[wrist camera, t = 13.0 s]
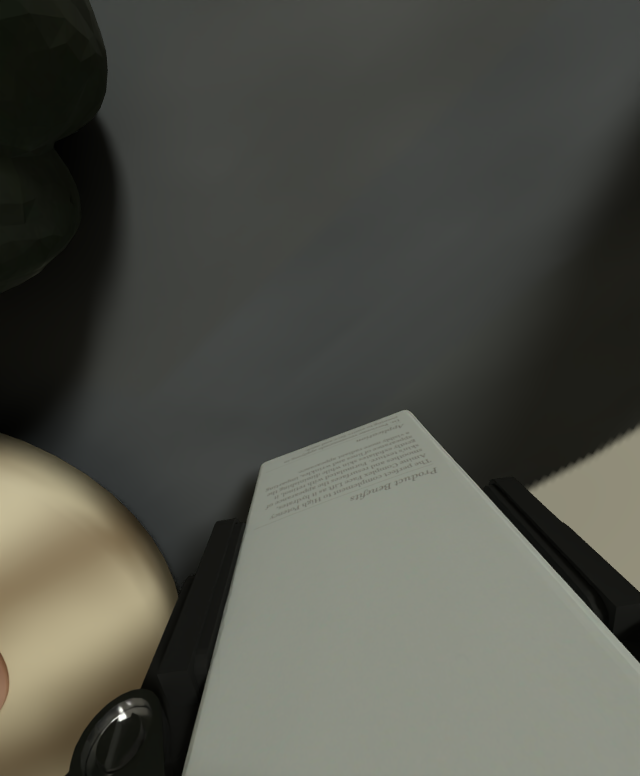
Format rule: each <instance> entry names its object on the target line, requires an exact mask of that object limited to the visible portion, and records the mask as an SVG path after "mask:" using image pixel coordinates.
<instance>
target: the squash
mask: <svg viewBox="0 0 640 776" xmlns="http://www.w3.org/2000/svg"><path fill="white" fill-rule="evenodd" d="M107 71H108V69H107V57H106V50H105V46H104V43H103V39H102V36H101V32H100V29H99V27H98V24H97V21H96V18H95V15H94V12H93V10H92V7H91V4H90V2H89V0H0V293H2V292H4V291H7V290H9V289H11V288H13V287H16V286H18V285H20V284H22V283H23V282H25V281H26V280H28V279H30V278H31V277H33V276H35V275H36V274H38V273H40V272H41V271H42V270H43V268H44V267H45V266H46V265H47V264H48V263H49V262H50V261H51V260H52V259H54V258H55V257H56V256H57V255H58V254H59V253H60V252H61V251H63V250H64V249H65V248H66V246H67V245H68V244H69V242H70V241H71V240H72V238H73V237H74V235H75V233H76V232H77V230H78V227H79V224H80V220H81V206H80V195H79V192H78V189H77V186H76V183H75V181H74V179H73V177H72V175H71V173H70V171H69V169H68V168H67V166H66V165H65V163H64V162H63V160H62V159H61V158H60V156H59V155H58V153H57V152H56V151H55V149H54V144H55V142H56V141H58V140H60V139H63V138H65V137H67V136H69V135H71V134H73V133H75V132H77V131H78V130H79V129H81V128H82V127H83V126H85V125H86V124H87V123H88V122H90V121H91V120H92V119H93V117H94V116H95V115H96V113H97V112H98V111H99V109H100V107H101V104H102V102H103V99H104V96H105V93H106V85H107Z"/></svg>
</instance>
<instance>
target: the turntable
mask: <svg viewBox="0 0 640 776" xmlns="http://www.w3.org/2000/svg"><path fill="white" fill-rule="evenodd" d="M177 599H178V594H177V590H176V586H175V582H174V580H173V577H172V575H171V573H170V570H169V568H168V566H167V563H166V561H165V559H164V557H163V556H162V554H161V552H160V551H159V549H158V547H157V546H156V544H155V542H154V541H153V539H152V537H151V536H150V535H149V534H148V532H147V531H146V530H145V529H144V527H143V526H142V525H141V524H140V523H139V521H138V520H137V519H136V518H135V516H134V515H133V514H132V513H131V512H130V511H129V510H128V509H127V508H126V507H125V506H124V505H123V504H122V503H121V502H119V501H118V500H117V499H116V498H115V497H114V496H113V495H112V494H111V493H110V492H108V491H107V490H106V489H105V488H103V487H102V486H101V485H99V484H98V483H97V482H95V481H94V480H93V479H91V478H90V477H89V476H88V475H86V474H85V473H83V472H81V471H80V470H78V469H76V468H75V467H73V466H72V465H70V464H68V463H67V462H65V461H63V460H62V459H60V458H58V457H57V456H55V455H52V454H50V453H48V452H46V451H44V450H42V449H40V448H38V447H35V446H33V445H31V444H29V443H27V442H25V441H22V440H19V439H16V438H14V437H11V436H8V435H5V434H2V433H0V776H65V775H66V774H67V773H68V772H69V767H70V762H71V759H72V755H73V752H74V748H75V746H76V744H77V742H78V740H79V739H80V737H81V735H82V733H83V731H84V730H85V728H86V727H87V726H88V724H89V723H90V722H91V720H92V719H93V718H94V716H95V715H97V714H98V713H99V712H100V711H101V710H102V709H103V708H104V707H105V706H106V705H107V704H108V703H110V702H111V701H112V700H114V699H115V698H117V697H118V696H120V695H122V694H124V693H126V692H129V691H131V690H135V689H140V688H141V686H142V683H143V681H144V679H145V676H146V674H147V671H148V669H149V667H150V664H151V662H152V659H153V657H154V654H155V652H156V650H157V647H158V645H159V642H160V640H161V638H162V635H163V633H164V630H165V628H166V626H167V623H168V621H169V618H170V616H171V614H172V611H173V609H174V606H175V604H176V601H177Z"/></svg>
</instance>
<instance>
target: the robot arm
mask: <svg viewBox="0 0 640 776" xmlns="http://www.w3.org/2000/svg"><path fill="white" fill-rule="evenodd" d="M484 493H485V494H486V495H487V496H488V497H489V499H490V500H491V501H492V502H493V503H494V504H495V505H496V506H497V507H498V509H499V510H500V511H501V512H502V513H503V514H504V515H505V516H506V517H507V518H508V519H509V521H510V522H511V523H512V524H513V525H514V526H515V527H516V528H517V529H518V530H519V532H520V533H521V534H522V535H523V536H524V537H525V538H526V539H527V540H528V541H529V543H530V544H531V545H532V546H533V547H534V548H535V549H536V550H537V551H538V552H539V553H540V555H541V556H542V557H543V558H544V559H545V560H546V561H547V562H548V563H549V564H550V566H551V567H552V568H553V569H554V570H555V571H556V572H557V573H558V574H559V575H560V576H561V578H562V579H563V580H564V581H565V582H566V583H567V584H568V585H569V586H570V587H571V588H572V590H573V591H574V592H575V593H576V594H577V595H578V596H579V597H580V598H581V599H582V601H583V602H584V603H585V604H586V605H587V606H588V607H589V608H590V609H591V610H592V612H593V613H594V614H595V615H596V616H597V617H598V618H599V619H600V620H601V621H602V623H603V624H604V625H605V626H606V627H607V628H608V629H609V630H610V631H611V632H612V634H613V635H614V636H615V637H616V638H617V639H618V640H619V641H620V642H621V643H622V645H623V646H624V647H625V648H626V649H627V650H628V651H629V652H630V653H631V654H632V656H633V657H634V658H635V659H636V660H637V661H638V662H639V663H640V592H639V591H638V590H637V589H636V588H635V587H633V586H632V585H631V584H630V583H629V582H628V581H627V580H626V579H625V578H624V577H623V576H622V575H621V574H619V573H618V572H617V571H616V570H615V569H614V568H613V567H612V566H611V565H610V564H609V563H608V562H607V561H605V560H604V559H603V558H602V557H601V556H600V555H599V554H598V553H597V552H596V551H595V550H594V549H592V548H591V547H590V546H589V545H588V544H587V543H586V542H585V541H584V540H583V539H582V538H581V537H580V536H578V535H577V534H576V533H575V532H574V531H573V530H572V529H571V528H570V527H569V526H567V525H566V524H565V523H563V522H561V521H560V520H559V519H558V518H557V517H556V516H555V515H554V514H552V512H550V511H549V510H548V509H547V508H546V507H545V506H544V505H543V504H542V503H541V502H540V501H539V500H537V498H535V497H534V496H533V495H532V494H531V493H530V492H529V491H528V490H527V489H526V488H525V487H524V486H523V485H522V484H520V483H519V482H518V481H517V480H516V479H515V478H513V477H505V478H499V479H492V480H490V482H489V485H488V486H485V487H484ZM245 526H246V524H245V523H239V520H238V519H236V518H235V519H229V520H222V521H217V522H216V524H215V526H214V529H213V531H212V534H211V536H210V539H209V541H208V544H207V547H206V549H205V552H204V554H203V557H202V559H201V562H200V565H199V567H198V570H197V572H196V575H193V576H189V577H188V578H187V579H186V581H185V583H184V585H183V587H182V589H181V592H180V594H179V597H178V599H177V601H176V604H175V606H174V609H173V611H172V614H171V616H170V618H169V621H168V623H167V626H166V628H165V630H164V633H163V635H162V638H161V640H160V642H159V645H158V647H157V650H156V652H155V654H154V657H153V659H152V662H151V664H150V667H149V669H148V671H147V674H146V676H145V679H144V681H143V683H142V686H141V688H140V689H135V690H131V691H129V692H126V693H124V694H122V695H120V696H118V697H117V698H115V699H114V700H112V701H111V702H110V703H108V704H107V705H106V706H105V707H104V708H103V709H102V710H101V711H100V712H99V713H98V714H97V715H95V716H94V718H93V719H92V720H91V722H90V723H89V724H88V726H87V727H86V728H85V730H84V731H83V733H82V735H81V737H80V739H79V740H78V742H77V744H76V746H75V748H74V752H73V755H72V759H71V762H70V767H69V772H68V773H67V774H66V775H65V776H182V773H183V769H184V765H185V761H186V756H187V752H188V748H189V744H190V740H191V736H192V732H193V728H194V725H195V721H196V717H197V713H198V710H199V706H200V702H201V698H202V695H203V691H204V687H205V683H206V679H207V675H208V671H209V667H210V663H211V659H212V655H213V652H214V648H215V644H216V640H217V636H218V632H219V628H220V624H221V620H222V616H223V612H224V608H225V604H226V600H227V597H228V593H229V589H230V585H231V581H232V577H233V573H234V569H235V565H236V561H237V557H238V554H239V550H240V546H241V542H242V539H243V534H244V530H245Z"/></svg>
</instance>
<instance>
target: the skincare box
mask: <svg viewBox="0 0 640 776" xmlns="http://www.w3.org/2000/svg"><path fill="white" fill-rule="evenodd" d="M182 776H640V663H639V662H638V661H637V660H636V659H635V658H634V657H633V656H632V654H631V653H630V652H629V651H628V650H627V649H626V648H625V647H624V646H623V645H622V643H621V642H620V641H619V640H618V639H617V638H616V637H615V636H614V635H613V634H612V632H611V631H610V630H609V629H608V628H607V627H606V626H605V625H604V624H603V623H602V621H601V620H600V619H599V618H598V617H597V616H596V615H595V614H594V613H593V612H592V610H591V609H590V608H589V607H588V606H587V605H586V604H585V603H584V602H583V601H582V599H581V598H580V597H579V596H578V595H577V594H576V593H575V592H574V591H573V590H572V588H571V587H570V586H569V585H568V584H567V583H566V582H565V581H564V580H563V579H562V578H561V576H560V575H559V574H558V573H557V572H556V571H555V570H554V569H553V568H552V567H551V566H550V564H549V563H548V562H547V561H546V560H545V559H544V558H543V557H542V556H541V555H540V553H539V552H538V551H537V550H536V549H535V548H534V547H533V546H532V545H531V544H530V543H529V541H528V540H527V539H526V538H525V537H524V536H523V535H522V534H521V533H520V532H519V530H518V529H517V528H516V527H515V526H514V525H513V524H512V523H511V522H510V521H509V519H508V518H507V517H506V516H505V515H504V514H503V513H502V512H501V511H500V510H499V509H498V507H497V506H496V505H495V504H494V503H493V502H492V501H491V500H490V499H489V497H488V496H487V495H486V494H485V493H484V492H483V491H482V490H481V489H480V488H479V486H478V485H477V484H476V483H475V482H474V481H473V480H472V479H471V478H470V476H469V475H468V474H467V473H466V472H465V471H464V470H463V469H462V468H461V467H460V466H459V465H458V464H457V463H456V462H455V461H454V459H453V458H452V457H451V456H450V455H449V454H448V453H447V452H446V451H445V450H444V449H443V447H442V446H441V445H440V444H439V443H438V442H437V441H436V440H435V439H434V438H433V437H432V435H431V434H430V433H429V432H428V431H427V430H426V429H425V428H424V426H423V425H422V424H421V423H420V422H419V421H418V420H417V418H416V417H415V416H414V415H413V414H412V413H411V412H410V411H408V410H403V411H400V412H397V413H395V414H392V415H389V416H387V417H384V418H382V419H379V420H376V421H374V422H371V423H368V424H366V425H363V426H360V427H358V428H355V429H352V430H350V431H347V432H344V433H342V434H339V435H336V436H333V437H331V438H328V439H325V440H323V441H320V442H318V443H315V444H312V445H310V446H307V447H304V448H302V449H299V450H296V451H294V452H291V453H288V454H286V455H283V456H280V457H278V458H275V459H272V460H270V461H267V462H265V463H263V464H262V465H261V467H260V471H259V475H258V479H257V483H256V487H255V491H254V495H253V498H252V502H251V506H250V510H249V514H248V518H247V522H246V526H245V530H244V534H243V539H242V542H241V546H240V550H239V554H238V557H237V561H236V565H235V569H234V573H233V577H232V581H231V585H230V589H229V593H228V597H227V600H226V604H225V608H224V612H223V616H222V620H221V624H220V628H219V632H218V636H217V640H216V644H215V648H214V652H213V655H212V659H211V663H210V667H209V671H208V675H207V679H206V683H205V687H204V691H203V695H202V698H201V702H200V706H199V710H198V713H197V717H196V721H195V725H194V728H193V732H192V736H191V740H190V744H189V748H188V752H187V756H186V761H185V765H184V769H183V773H182Z"/></svg>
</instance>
